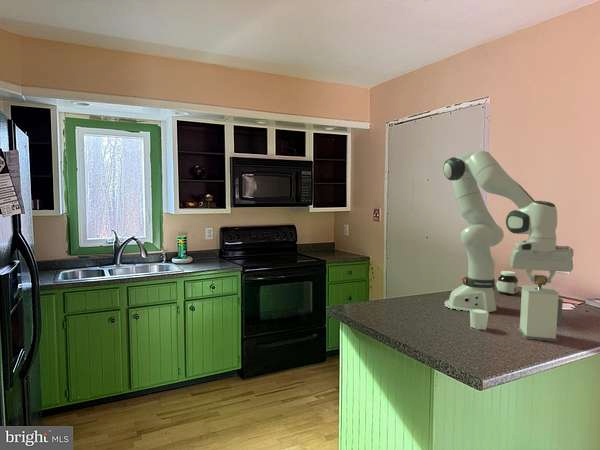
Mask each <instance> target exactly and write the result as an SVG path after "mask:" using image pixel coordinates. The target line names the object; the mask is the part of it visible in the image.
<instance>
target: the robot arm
mask: <svg viewBox="0 0 600 450" xmlns="http://www.w3.org/2000/svg"><path fill="white" fill-rule="evenodd" d="M442 170H443V175H444V176H445V178H446V179H447V180H449V181H452V189H453V193H454V194H453V195H454V197H455V200H456V202H457V203H456V204H457V206H458V209H459V212H460V214H461V217H462V218H464V219H465V220H466V222H467V223H468V224H469V226H467V227H465V228H464V229H463V230H462V231H461V234H460V241H461V244H462V245H463V246H464V247H465V251H466V254H467V260H468V263H467V265H468V267H467V276H464V275H462V276H461V277H460V278H461V280H462V284H461V285H459V286H458V287H456V288H455V289H453V290H452V291H451V293H450V295H449V299H446V300H445V301H444V304H445V305H444V307H445V306H446V307H448V308H450V309H449V310H452V309H456V310H455V311H460V310H463V311H462V312H468V311H469V313H470V309H482V310H486V311H488V312H489V313H490V312H491V313H492V312H495V311H497V309H498V308H497V305H496V299H495V289H496V279H495V265H496V264H495V260H494V258H493V257H492V254H491V247H495V246H497V245H498V244H500V243H501V242H502V241H503V239H504V230H503V228H502V227H501V226H499V225H498V223H496V221H495V220H494V218H493V216H492V215H491V213H490V212H489V210H488V208H487V206H486V203H485V201H484V198H483V196H482V191H481V190H480V188H481V189H482V190H483V191H484V192H486V193H488V194H492V195H496V196H497V195H498V196H501V197H504V198H506V199H509V200H510V201H511V202H513V203H514V204H515V206H516V207H517V208H516V209H514V210H511V211H509V212H508V214H507V216H506V218H505V225H506V228H507V229H508V231H510V233H512V234H516V235H528V239H526V240H521V241H517V242H515V243H514V248H515V249H513V250H512V252H511V254H510V260H509V261H510V263H509V265H510V266H509V267H511V268H512V269H513V270H522V271H523V270H525V272H526V274H527V275H528V277H529V279H528V281H529V283H534V282H535V277H534V276H532V273H533V271H542V272H543V271H544V272H548V273H549V275H548V276H547V278H546V284H552V279H553V278H554V276H555V275H556V272H564V273H565V272H567V273H570V272H572V271H573V269H574V260H573V257H574V249H573V248H572V247H570V246H569V245H564V246H563V245H557V235H556V230H557V227H558V210H557V206H556V205H555V204H554V203H553V202H550V201H543V200H535V199H534V198H533V197H532V196H531V194H529V193H528V191H526V190H525V189H524V187H522V185H521V184H519V183H518V182H517V181H515V179H514V178H512V177H511V176H510V175H509V174H508V173H507V172H506V171H505V169H504V168H503V167H502V166H501V164H500V163H499V162H498V161H497V160H496V159H495V157H493V156H492V155H491V153H489V152H488V151H487V150H486V151H485V150H479V151H478V150H477V151H476V152H475V151H474V152H467V153H464V154H461V155H458V156H454V157H453V156H452V157H450V158H448V159H446V160H445V161H444V163H443V168H442ZM446 307H445V308H446ZM448 308H447V309H448Z"/></svg>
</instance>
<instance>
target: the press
mask: <svg viewBox="0 0 600 450" xmlns="http://www.w3.org/2000/svg"><path fill="white" fill-rule="evenodd" d="M559 293H560V292H558V291H557V290H555V289H553V288H552V287H551V286H542V289H541V290H538V285H523V284H522V285H521V300H520V301H521V302H520V315H519V316H520V319H519V320H520V321H519V327H518V331H519V333H520V332H521V333H522V334H521V333H520V334H521V336H522V337H523V336H524V337H525V338H528V339H527V340H531V339H537V340H536V341H542V340H547V341H546V342H553V341H556V342H555V343H558V338H557V329H558V328H557V327H561V328H562V322H563V321H562V319H563V305H564V304H563V303H564V301H563V299H562V298H559ZM524 337H523V338H524ZM525 338H524V339H525Z"/></svg>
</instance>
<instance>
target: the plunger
mask: <svg viewBox="0 0 600 450" xmlns="http://www.w3.org/2000/svg"><path fill="white" fill-rule="evenodd" d="M533 277H535V282H533V284H534V285H536V286H538V290H541V289H542V287H543V286H546V285H547V283H546V278H547V277H548V276H547V275H544V274H534V275H533Z"/></svg>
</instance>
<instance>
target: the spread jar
mask: <svg viewBox="0 0 600 450" xmlns="http://www.w3.org/2000/svg"><path fill="white" fill-rule="evenodd" d="M500 274H501V275H500V276H499V277H498V278H497V282H496V283H495V288H497V292H498V293H499V294H501V295H504V296H515V295H516V294H517V293H518V290H519V289H518V288H519V280H518V277H517V276H516V272H515V271H511V270H501V271H500Z"/></svg>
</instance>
